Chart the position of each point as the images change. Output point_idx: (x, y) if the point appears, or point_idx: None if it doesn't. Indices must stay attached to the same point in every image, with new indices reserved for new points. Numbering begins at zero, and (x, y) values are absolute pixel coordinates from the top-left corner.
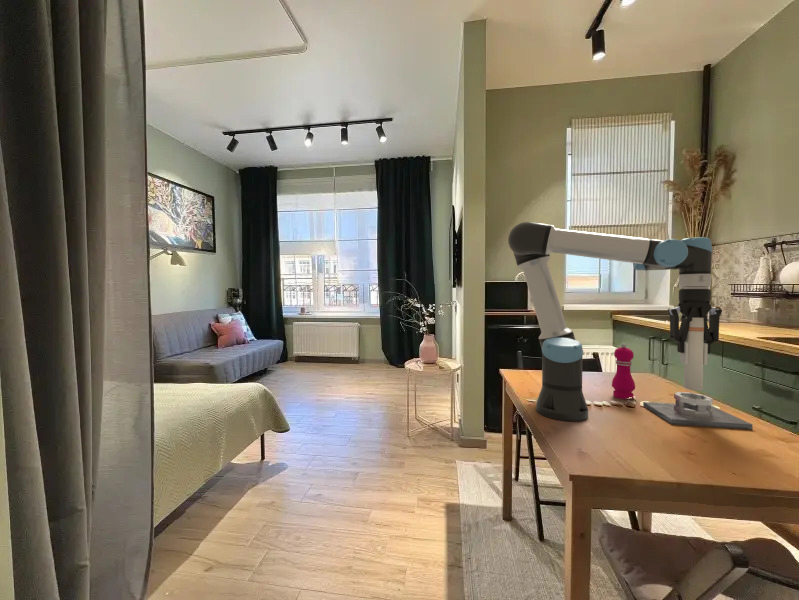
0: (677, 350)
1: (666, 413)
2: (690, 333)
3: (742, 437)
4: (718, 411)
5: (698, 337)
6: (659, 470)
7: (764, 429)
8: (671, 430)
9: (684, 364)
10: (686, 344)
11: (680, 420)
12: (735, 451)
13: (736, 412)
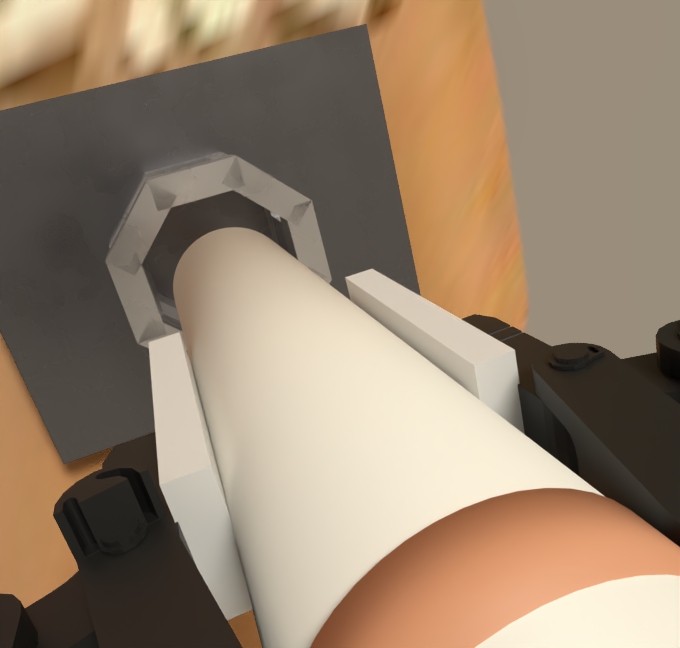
0: (104, 466)
1: (49, 364)
2: None
3: None
4: (359, 158)
5: None
6: None
7: (467, 291)
8: (53, 544)
9: (190, 357)
10: (225, 600)
11: (110, 446)
12: (251, 634)
13: (474, 15)
